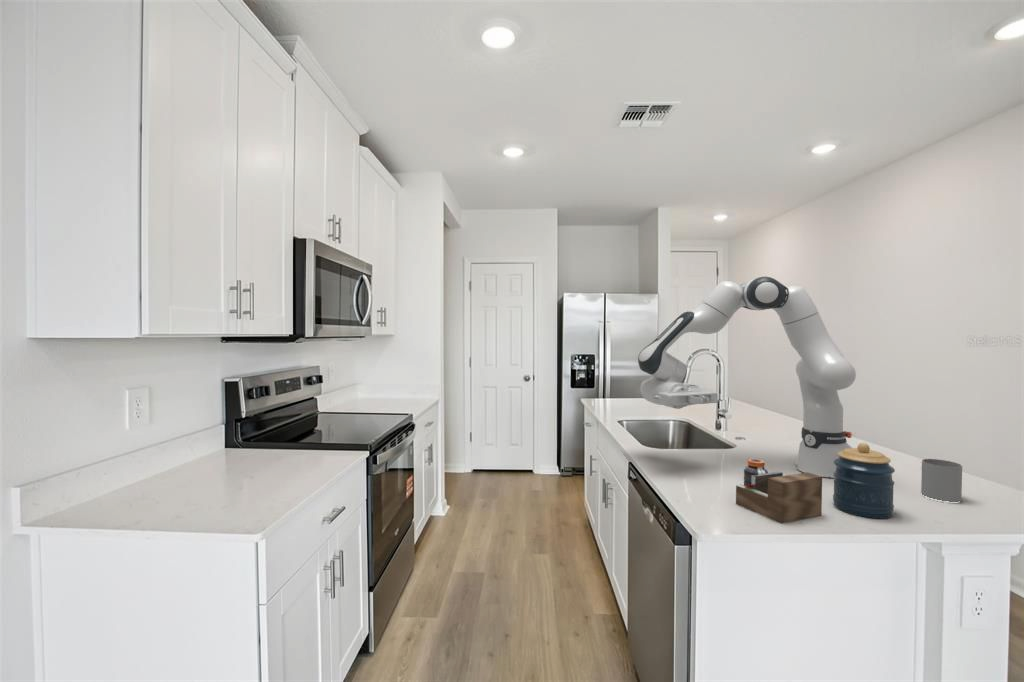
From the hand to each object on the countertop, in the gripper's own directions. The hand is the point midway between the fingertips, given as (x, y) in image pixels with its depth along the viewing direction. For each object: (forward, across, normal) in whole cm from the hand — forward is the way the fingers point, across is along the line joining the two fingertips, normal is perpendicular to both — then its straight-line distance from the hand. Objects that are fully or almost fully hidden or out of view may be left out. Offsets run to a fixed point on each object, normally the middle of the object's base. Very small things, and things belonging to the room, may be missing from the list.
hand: (705, 401), depth 149 cm
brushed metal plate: (+23, -1, +24) cm, 33 cm away
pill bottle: (+19, 0, +25) cm, 32 cm away
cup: (+36, +51, +25) cm, 67 cm away
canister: (+34, +21, +25) cm, 47 cm away
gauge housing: (+25, 0, +25) cm, 35 cm away
